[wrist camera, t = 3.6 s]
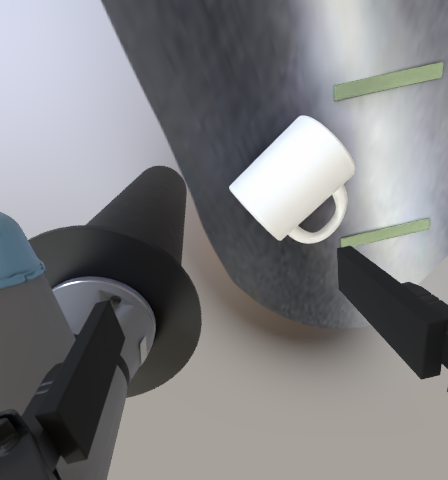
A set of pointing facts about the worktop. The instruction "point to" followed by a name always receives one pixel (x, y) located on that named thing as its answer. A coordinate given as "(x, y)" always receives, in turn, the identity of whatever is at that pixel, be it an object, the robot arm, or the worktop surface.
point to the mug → (297, 181)
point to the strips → (374, 86)
